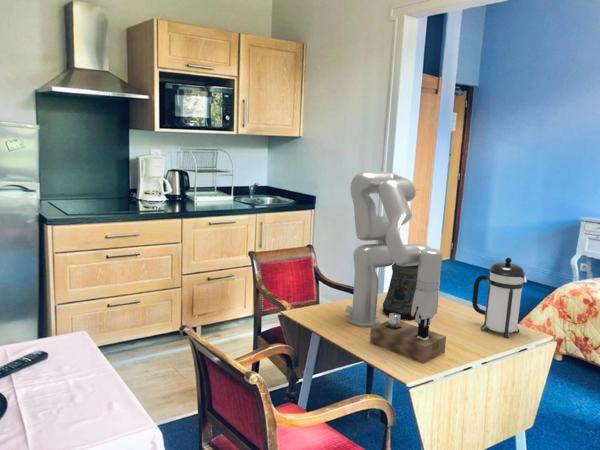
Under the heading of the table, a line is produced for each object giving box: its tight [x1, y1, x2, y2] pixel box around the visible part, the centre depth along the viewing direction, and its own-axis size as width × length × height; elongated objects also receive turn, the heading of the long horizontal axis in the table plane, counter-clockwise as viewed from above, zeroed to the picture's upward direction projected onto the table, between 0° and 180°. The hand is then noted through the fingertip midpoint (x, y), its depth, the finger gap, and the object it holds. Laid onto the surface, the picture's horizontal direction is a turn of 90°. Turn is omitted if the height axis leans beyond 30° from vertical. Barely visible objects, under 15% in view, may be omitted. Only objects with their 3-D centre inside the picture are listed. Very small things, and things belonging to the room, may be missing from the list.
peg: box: [388, 313, 401, 330], centre depth 185 cm, size 4×4×6 cm
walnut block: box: [369, 320, 447, 365], centre depth 181 cm, size 22×14×6 cm, turn 46°
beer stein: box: [382, 263, 418, 321], centre depth 217 cm, size 16×19×25 cm
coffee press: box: [471, 257, 527, 339], centre depth 201 cm, size 17×16×30 cm
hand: (422, 335), depth 177 cm, fingers closed
